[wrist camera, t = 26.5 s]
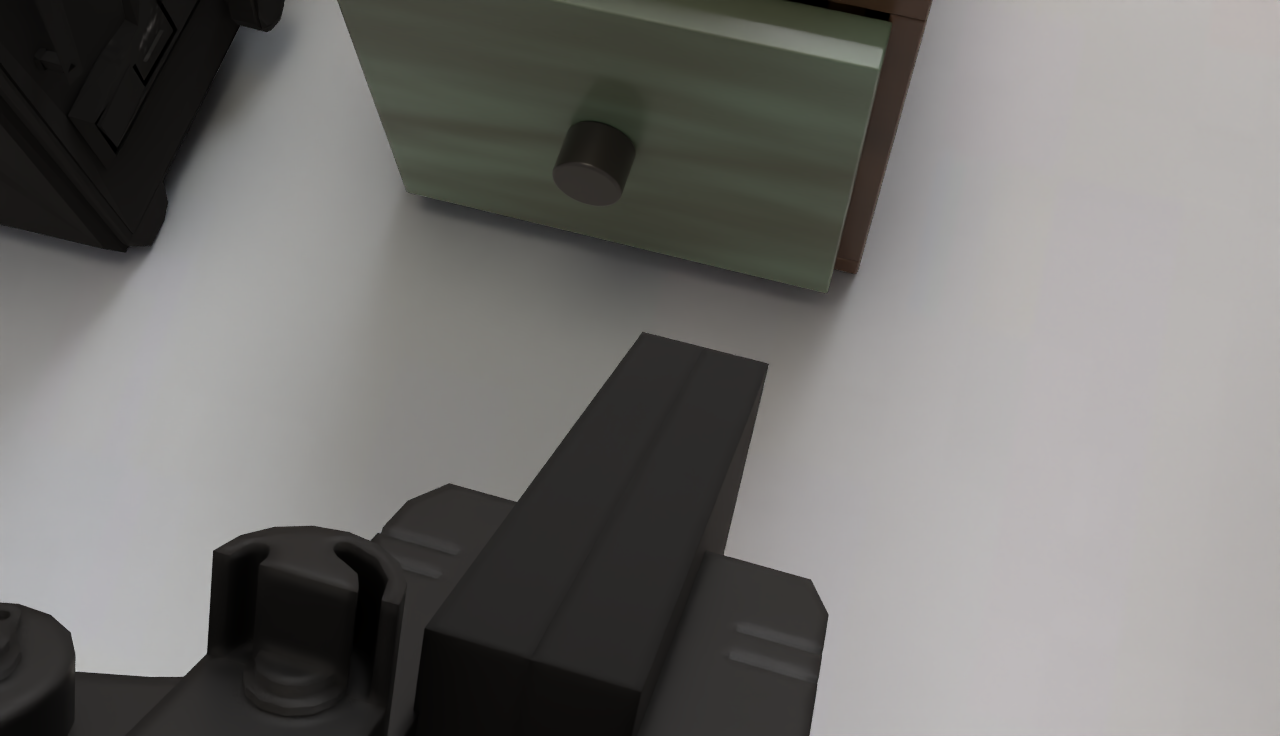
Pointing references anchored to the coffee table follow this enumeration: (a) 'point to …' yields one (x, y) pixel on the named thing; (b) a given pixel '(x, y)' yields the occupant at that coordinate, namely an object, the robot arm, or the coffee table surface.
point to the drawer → (635, 118)
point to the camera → (105, 107)
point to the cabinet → (881, 118)
